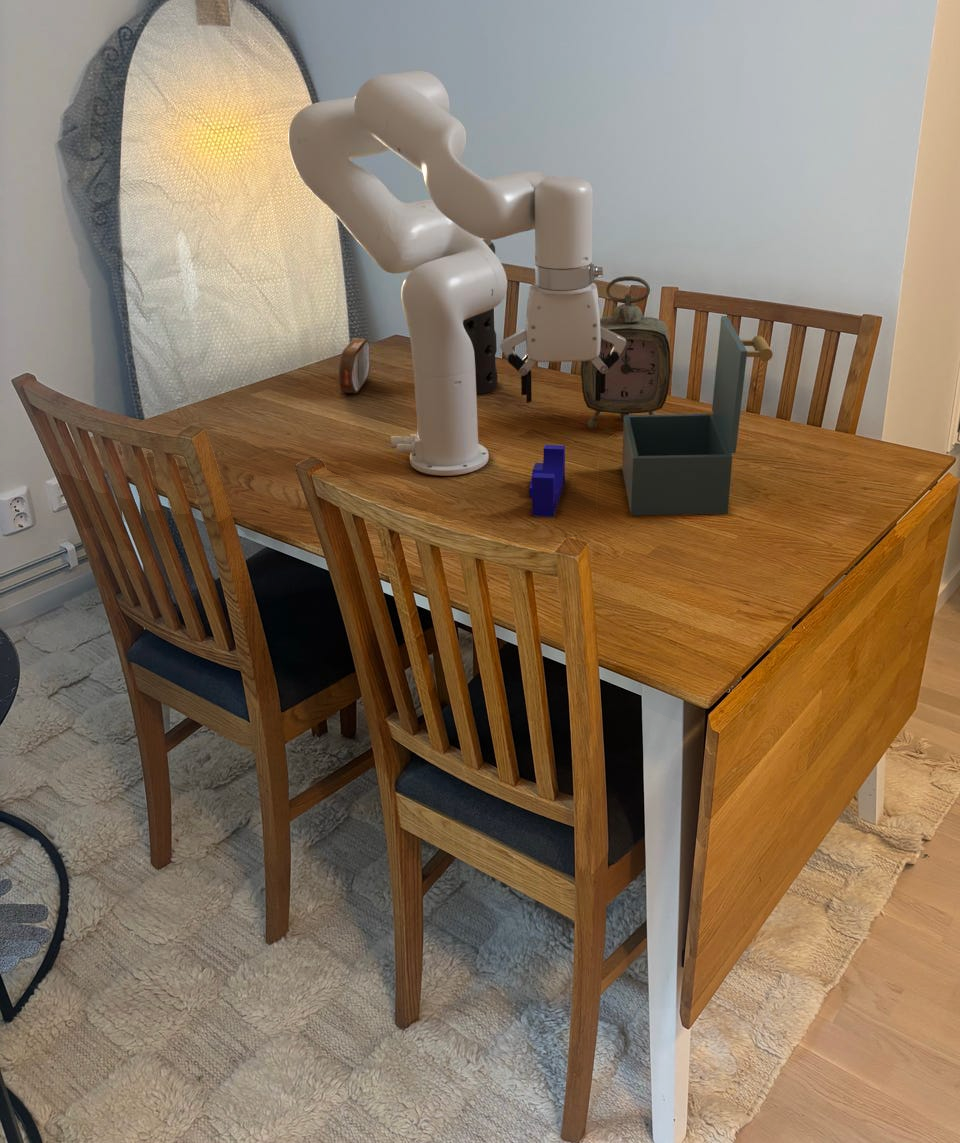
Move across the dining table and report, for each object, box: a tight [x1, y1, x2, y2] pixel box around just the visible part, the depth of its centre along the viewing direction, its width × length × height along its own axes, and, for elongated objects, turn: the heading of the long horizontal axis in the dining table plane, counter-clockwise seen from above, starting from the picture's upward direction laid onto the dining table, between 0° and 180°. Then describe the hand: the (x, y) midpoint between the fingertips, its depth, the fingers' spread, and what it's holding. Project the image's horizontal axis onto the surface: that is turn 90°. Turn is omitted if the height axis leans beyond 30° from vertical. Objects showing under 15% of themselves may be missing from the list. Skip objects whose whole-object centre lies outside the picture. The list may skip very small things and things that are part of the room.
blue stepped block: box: [528, 444, 566, 518], centre depth 157 cm, size 12×4×6 cm, turn 168°
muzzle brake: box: [463, 239, 499, 396], centre depth 196 cm, size 10×28×10 cm
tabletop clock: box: [580, 275, 672, 429], centre depth 178 cm, size 14×9×25 cm, turn 83°
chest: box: [621, 413, 733, 516], centre depth 157 cm, size 14×17×9 cm
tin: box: [338, 337, 371, 394], centre depth 203 cm, size 15×3×8 cm, turn 172°
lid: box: [711, 315, 774, 454], centre depth 151 cm, size 14×17×5 cm
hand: (562, 398), depth 152 cm, fingers open, 9 cm apart
